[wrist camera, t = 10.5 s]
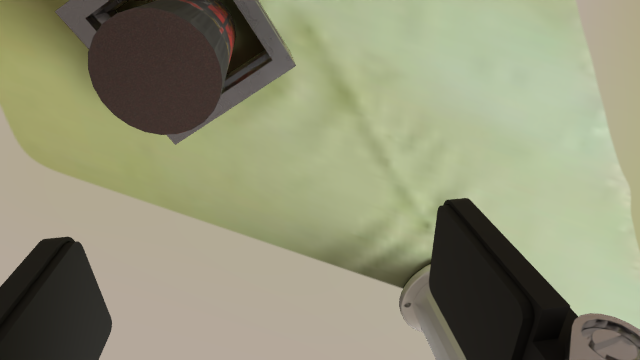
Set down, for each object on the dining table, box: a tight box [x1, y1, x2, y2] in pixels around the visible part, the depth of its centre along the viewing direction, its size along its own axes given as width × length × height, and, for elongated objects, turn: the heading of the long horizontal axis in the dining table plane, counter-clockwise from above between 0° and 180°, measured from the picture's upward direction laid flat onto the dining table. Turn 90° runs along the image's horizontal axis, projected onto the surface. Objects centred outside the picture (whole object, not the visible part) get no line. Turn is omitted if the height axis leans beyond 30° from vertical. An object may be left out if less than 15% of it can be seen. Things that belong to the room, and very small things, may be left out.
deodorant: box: [88, 0, 236, 135], centre depth 24 cm, size 6×6×15 cm
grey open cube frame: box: [55, 0, 296, 145], centre depth 28 cm, size 11×11×7 cm
